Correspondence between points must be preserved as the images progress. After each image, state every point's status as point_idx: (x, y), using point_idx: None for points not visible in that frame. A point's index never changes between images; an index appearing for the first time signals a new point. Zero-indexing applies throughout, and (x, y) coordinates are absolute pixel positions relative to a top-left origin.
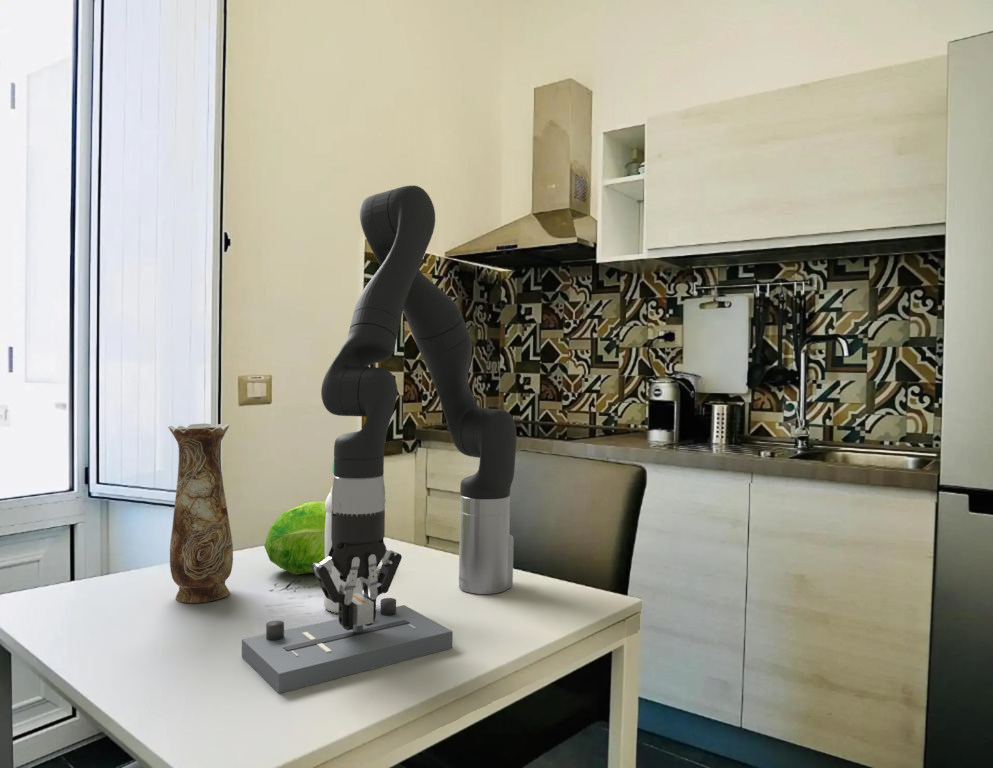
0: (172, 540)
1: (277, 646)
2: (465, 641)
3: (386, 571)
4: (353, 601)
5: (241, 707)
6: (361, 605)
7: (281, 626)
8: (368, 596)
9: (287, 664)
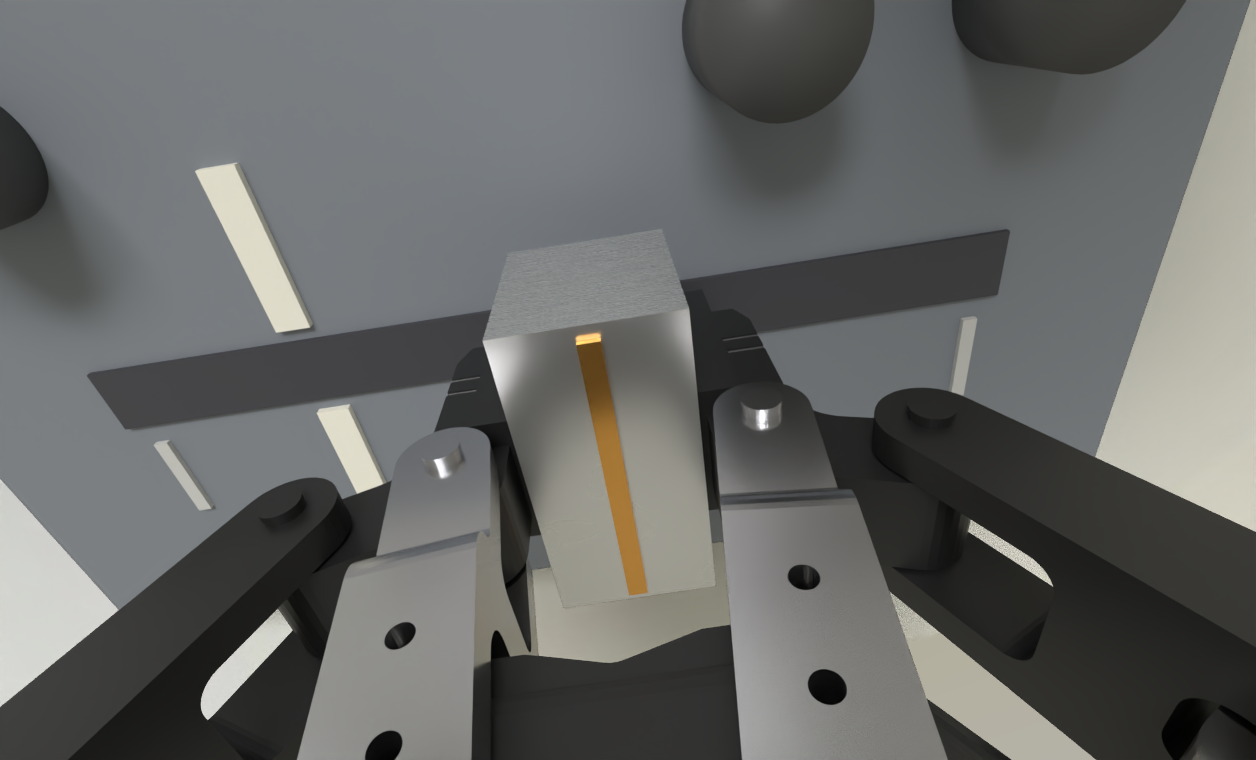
0: None
1: (41, 337)
2: (1139, 386)
3: (1076, 698)
4: (556, 529)
5: (51, 600)
6: (599, 596)
7: None
8: (720, 515)
9: (162, 567)
